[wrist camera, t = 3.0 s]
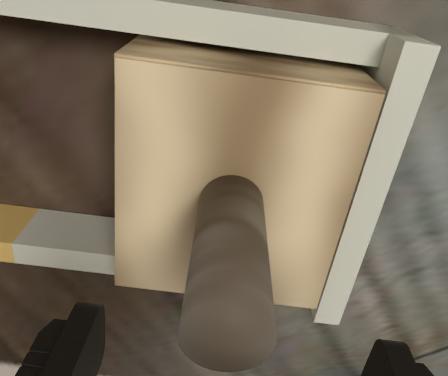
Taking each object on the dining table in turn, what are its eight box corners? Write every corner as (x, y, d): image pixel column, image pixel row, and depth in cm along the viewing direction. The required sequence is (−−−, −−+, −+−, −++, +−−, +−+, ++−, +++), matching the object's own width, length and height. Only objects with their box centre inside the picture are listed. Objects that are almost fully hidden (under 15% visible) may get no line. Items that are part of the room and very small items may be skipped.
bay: (-16, 219, 29) (-73, 276, 24) (-64, -39, 21) (-164, -40, 16) (321, 260, 30) (338, 324, 24) (392, 26, 22) (441, 46, 17)
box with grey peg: (140, 216, 28) (55, 435, 15) (146, 29, 22) (16, 124, 9) (300, 236, 29) (352, 467, 16) (348, 57, 23) (496, 186, 10)
